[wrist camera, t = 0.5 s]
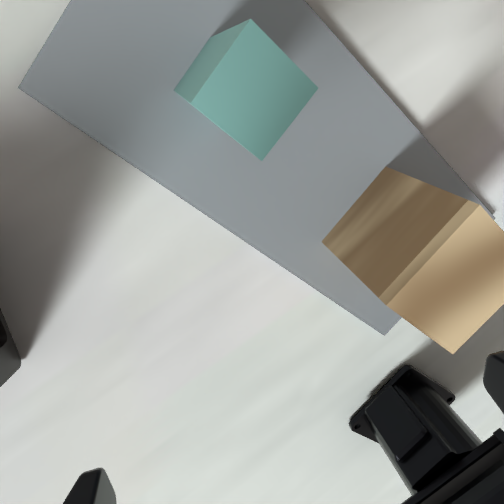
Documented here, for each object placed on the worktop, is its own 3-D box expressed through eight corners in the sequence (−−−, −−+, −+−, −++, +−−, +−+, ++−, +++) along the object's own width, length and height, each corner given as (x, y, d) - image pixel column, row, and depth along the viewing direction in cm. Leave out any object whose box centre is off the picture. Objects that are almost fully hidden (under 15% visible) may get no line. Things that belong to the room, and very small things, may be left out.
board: (490, 216, 24) (495, 218, 24) (381, 332, 26) (384, 335, 26) (165, -153, 14) (165, -158, 13) (20, 87, 16) (18, 87, 15)
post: (256, 81, 17) (318, 88, 11) (221, 129, 18) (261, 161, 12) (210, 37, 16) (250, 18, 10) (173, 90, 17) (190, 103, 10)
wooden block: (438, 219, 23) (537, 270, 17) (377, 285, 24) (452, 354, 18) (385, 166, 21) (479, 204, 15) (321, 241, 22) (386, 305, 16)
